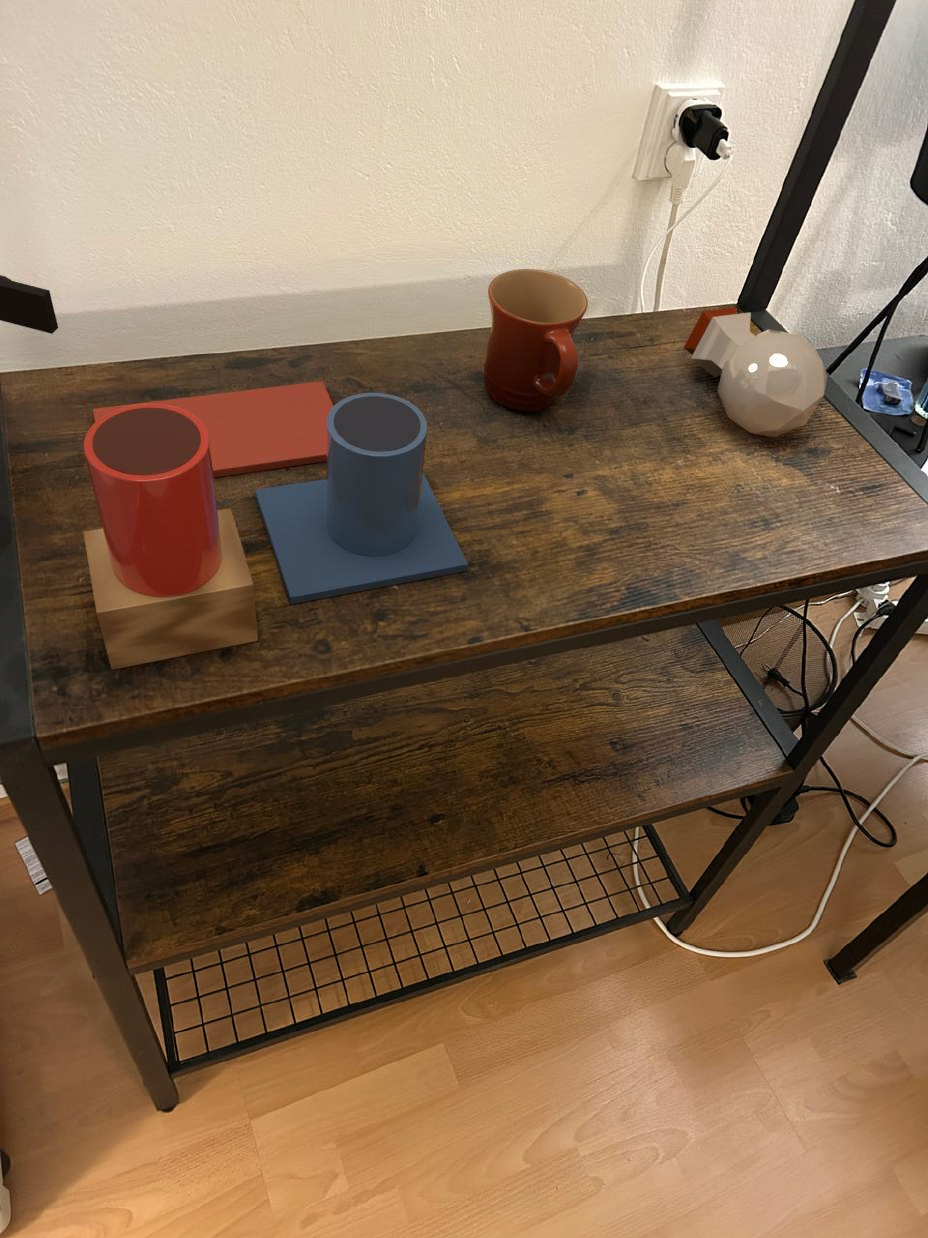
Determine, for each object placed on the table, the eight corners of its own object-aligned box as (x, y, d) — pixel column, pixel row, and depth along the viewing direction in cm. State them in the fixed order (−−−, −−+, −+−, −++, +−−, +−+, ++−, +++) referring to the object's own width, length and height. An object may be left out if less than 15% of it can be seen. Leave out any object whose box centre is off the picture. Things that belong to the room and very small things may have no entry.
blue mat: (290, 604, 72) (290, 597, 71) (255, 496, 79) (254, 489, 78) (467, 571, 76) (468, 563, 75) (418, 471, 83) (419, 464, 82)
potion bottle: (770, 474, 90) (686, 394, 100) (860, 409, 89) (765, 334, 99) (743, 412, 83) (656, 332, 93) (839, 339, 82) (740, 267, 92)
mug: (460, 371, 93) (473, 273, 85) (542, 360, 96) (562, 264, 88) (509, 450, 86) (528, 351, 78) (596, 435, 89) (622, 338, 81)
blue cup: (339, 563, 74) (342, 462, 66) (316, 500, 78) (315, 398, 70) (429, 547, 76) (441, 447, 68) (401, 487, 80) (409, 386, 73)
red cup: (118, 606, 62) (90, 488, 54) (104, 529, 66) (76, 410, 59) (231, 585, 64) (219, 469, 57) (211, 512, 68) (197, 395, 61)
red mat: (109, 493, 77) (107, 485, 76) (94, 416, 83) (92, 408, 82) (352, 457, 83) (352, 450, 82) (322, 387, 89) (322, 380, 88)
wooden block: (111, 670, 66) (96, 612, 61) (98, 590, 70) (83, 531, 66) (258, 641, 69) (253, 584, 64) (236, 565, 73) (230, 507, 69)
